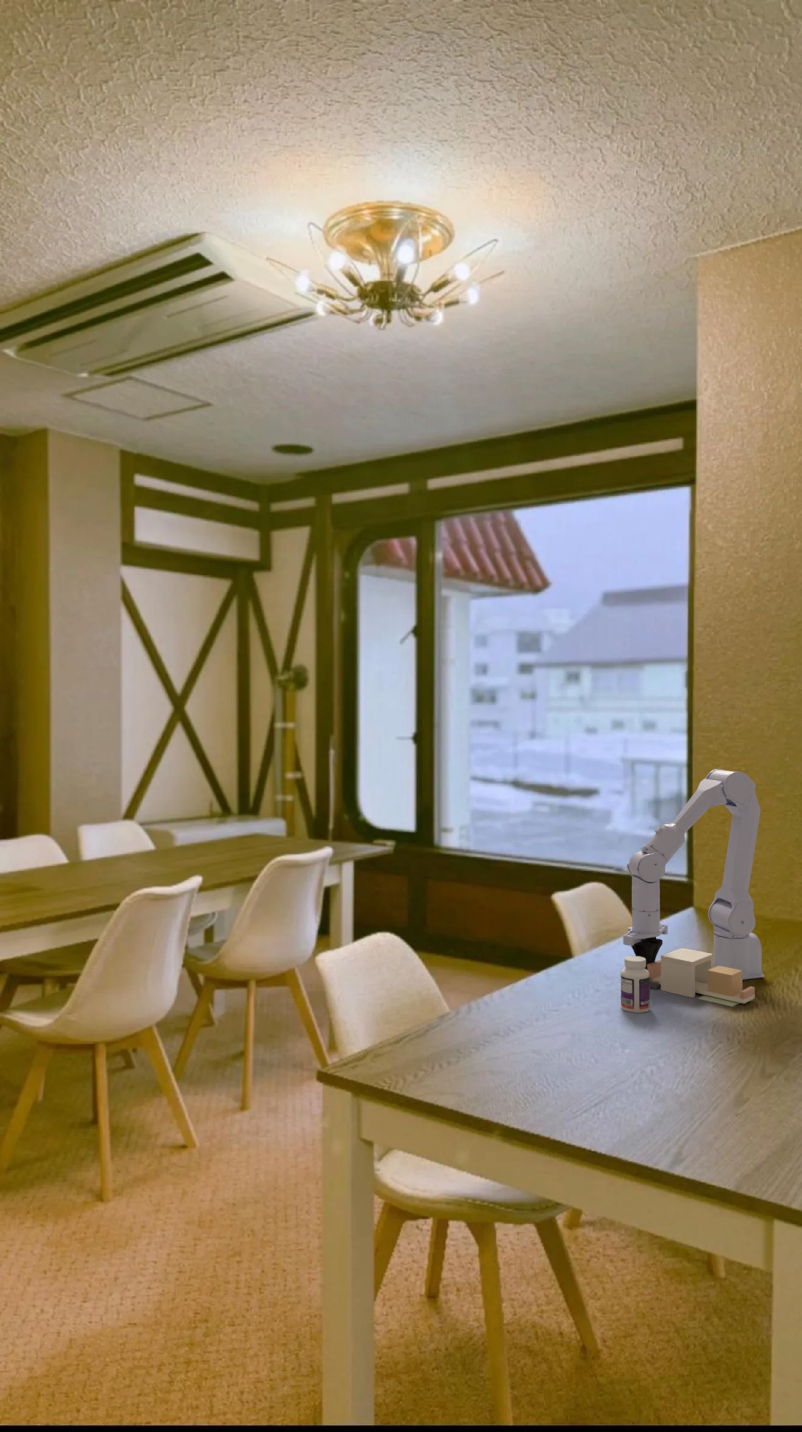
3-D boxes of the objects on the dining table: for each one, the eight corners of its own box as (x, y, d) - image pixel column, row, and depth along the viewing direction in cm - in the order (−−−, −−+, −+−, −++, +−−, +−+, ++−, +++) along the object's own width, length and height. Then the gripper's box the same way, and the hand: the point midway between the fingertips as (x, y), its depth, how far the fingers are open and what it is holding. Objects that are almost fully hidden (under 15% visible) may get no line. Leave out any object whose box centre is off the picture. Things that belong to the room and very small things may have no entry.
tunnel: (682, 981, 200) (682, 947, 200) (713, 988, 196) (713, 954, 195) (660, 990, 194) (660, 955, 194) (692, 997, 189) (692, 962, 189)
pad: (719, 989, 195) (719, 988, 195) (752, 997, 190) (752, 996, 190) (698, 999, 189) (698, 998, 189) (732, 1006, 184) (732, 1005, 184)
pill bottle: (647, 1005, 185) (647, 955, 185) (652, 1014, 180) (651, 962, 180) (619, 1004, 186) (619, 954, 186) (622, 1013, 180) (622, 962, 180)
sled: (658, 977, 202) (658, 953, 202) (754, 998, 187) (754, 973, 187) (647, 981, 199) (647, 957, 199) (743, 1003, 184) (743, 977, 184)
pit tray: (656, 976, 205) (656, 970, 205) (677, 980, 201) (677, 975, 201) (635, 984, 199) (635, 978, 199) (656, 989, 195) (656, 983, 195)
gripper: (647, 901, 210) (647, 963, 210) (610, 911, 199) (610, 976, 200) (676, 906, 205) (676, 969, 205) (640, 917, 194) (640, 983, 194)
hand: (646, 973), depth 202 cm, fingers closed, pressing on sled
